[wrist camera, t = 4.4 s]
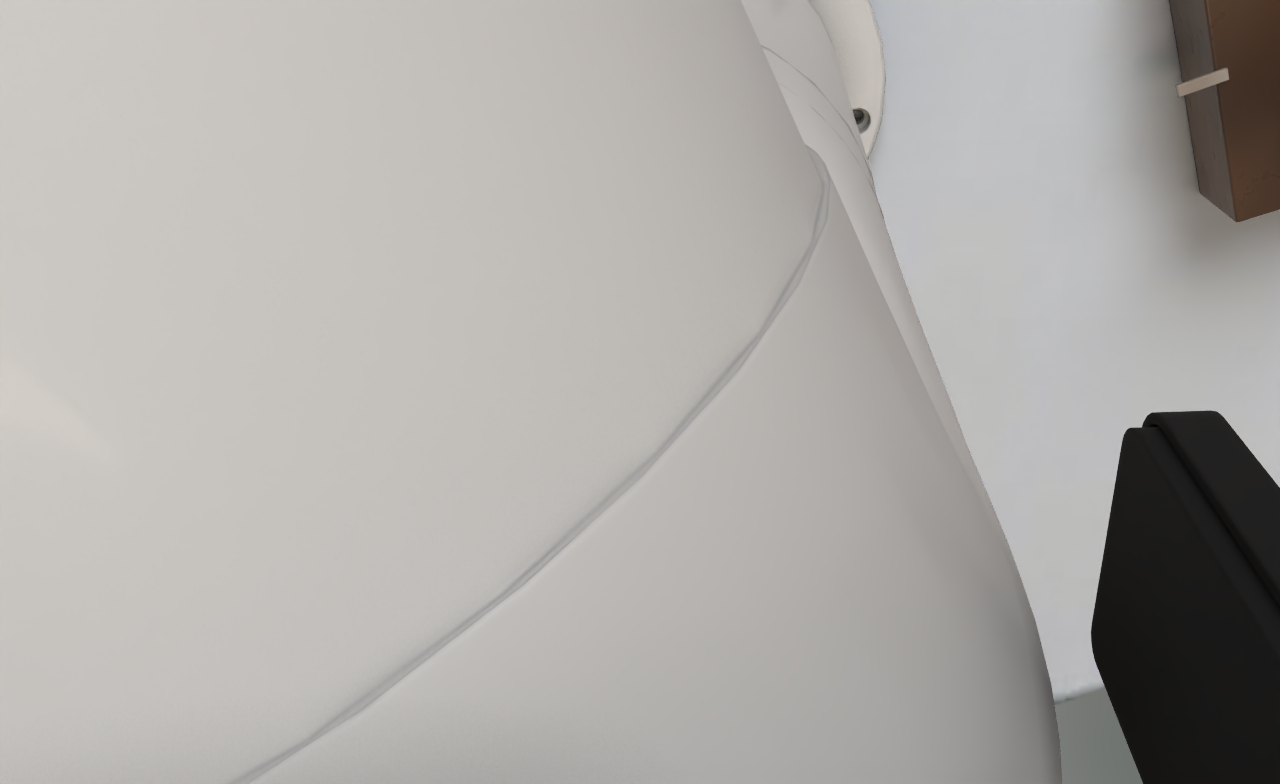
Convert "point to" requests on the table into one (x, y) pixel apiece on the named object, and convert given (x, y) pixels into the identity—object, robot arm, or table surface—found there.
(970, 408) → the table surface
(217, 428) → the robot arm
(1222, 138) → the brown square base
